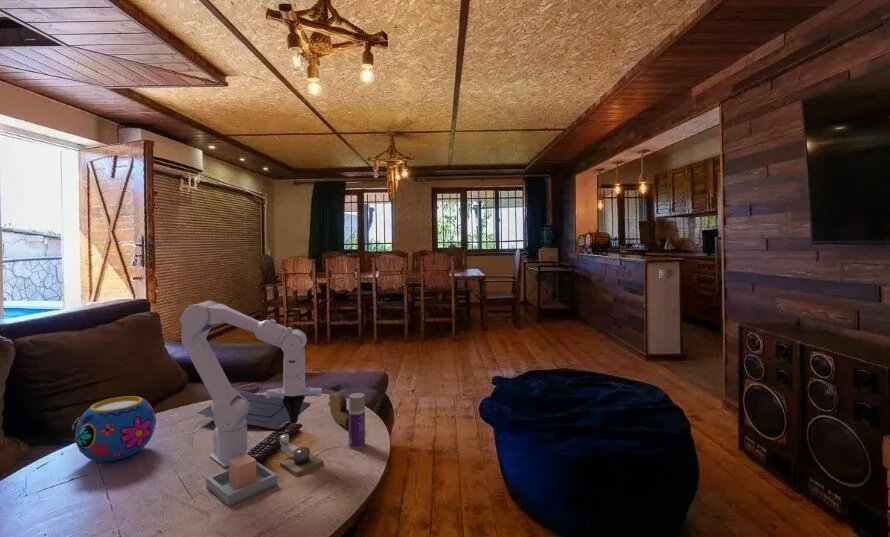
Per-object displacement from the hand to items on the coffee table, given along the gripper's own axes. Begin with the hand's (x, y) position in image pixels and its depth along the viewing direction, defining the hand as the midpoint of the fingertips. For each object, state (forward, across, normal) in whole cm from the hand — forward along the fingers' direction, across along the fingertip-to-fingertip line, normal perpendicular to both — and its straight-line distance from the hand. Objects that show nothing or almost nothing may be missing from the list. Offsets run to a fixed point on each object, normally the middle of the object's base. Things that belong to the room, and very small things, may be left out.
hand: (294, 422), depth 118 cm
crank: (+8, -1, +3) cm, 9 cm away
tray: (+9, +9, +15) cm, 20 cm away
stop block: (+9, +8, +15) cm, 20 cm away
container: (+10, -17, -5) cm, 20 cm away
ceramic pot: (+10, +48, -3) cm, 49 cm away
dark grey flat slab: (+10, +20, -31) cm, 38 cm away
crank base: (+9, -3, +6) cm, 12 cm away
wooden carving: (+10, -10, -22) cm, 26 cm away
